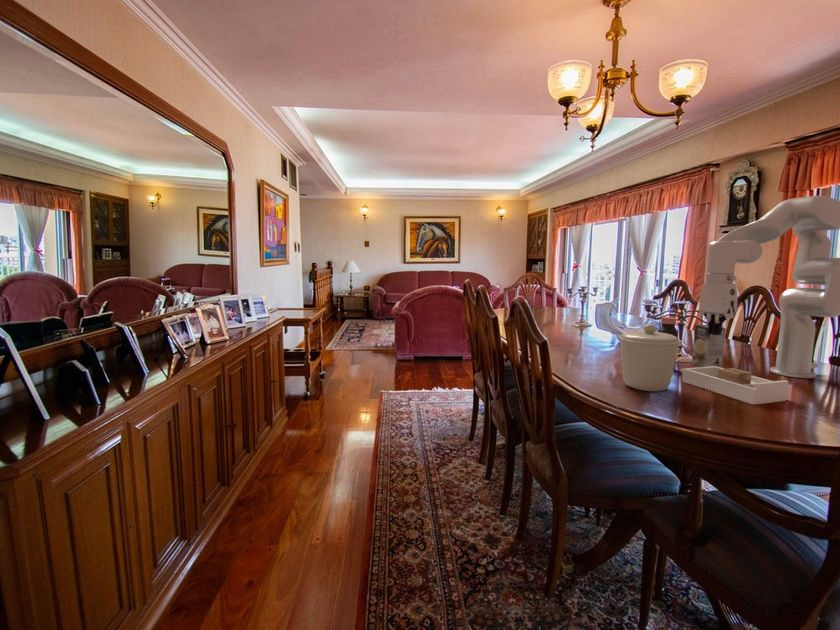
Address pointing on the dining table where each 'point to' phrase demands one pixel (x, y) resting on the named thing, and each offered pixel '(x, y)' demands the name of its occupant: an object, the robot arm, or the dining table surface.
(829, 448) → the dining table surface
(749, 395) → the box
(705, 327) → the coffee box
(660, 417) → the dining table surface
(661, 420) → the dining table surface
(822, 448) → the dining table surface
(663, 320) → the bottle
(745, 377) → the walnut block
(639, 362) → the canister
